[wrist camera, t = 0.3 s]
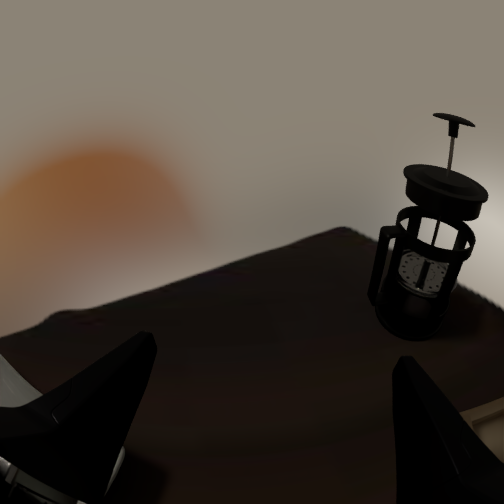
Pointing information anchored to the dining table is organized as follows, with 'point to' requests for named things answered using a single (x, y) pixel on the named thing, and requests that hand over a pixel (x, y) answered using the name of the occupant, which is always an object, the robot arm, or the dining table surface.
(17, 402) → the square plate
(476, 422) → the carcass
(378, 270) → the french press
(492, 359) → the dining table surface
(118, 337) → the dining table surface
